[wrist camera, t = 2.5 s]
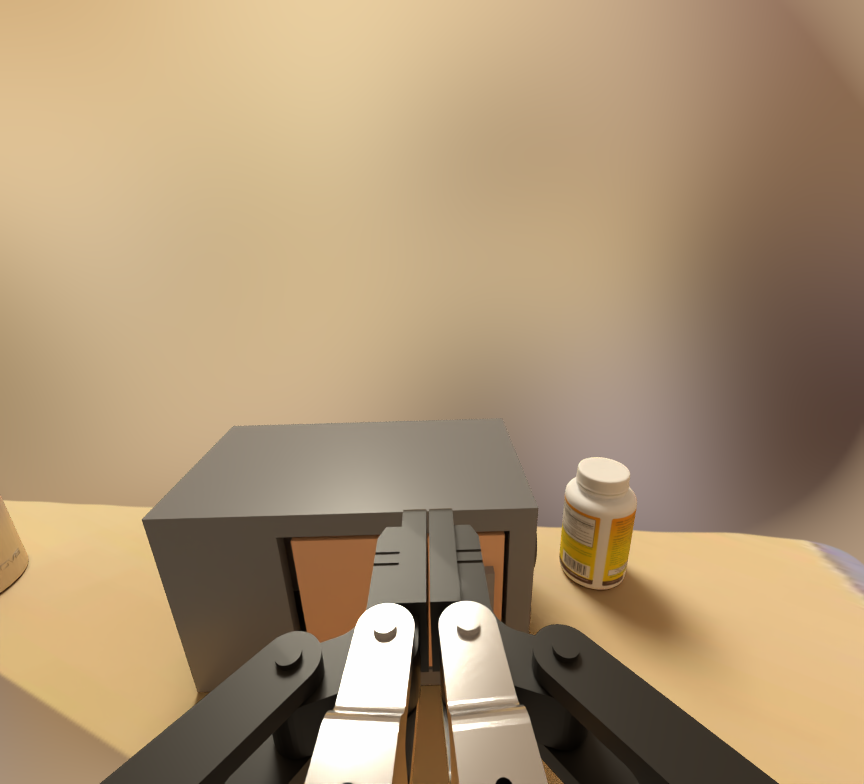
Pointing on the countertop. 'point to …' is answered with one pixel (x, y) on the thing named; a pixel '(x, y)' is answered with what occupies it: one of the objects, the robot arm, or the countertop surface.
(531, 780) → the robot arm
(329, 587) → the door
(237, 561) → the housing
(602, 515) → the supplement bottle
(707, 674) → the countertop surface
